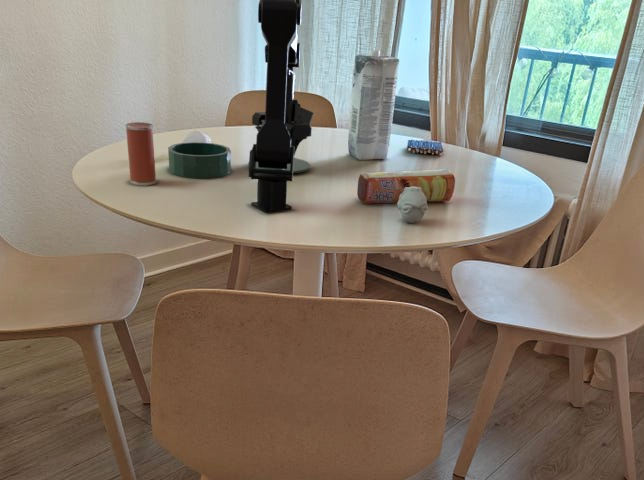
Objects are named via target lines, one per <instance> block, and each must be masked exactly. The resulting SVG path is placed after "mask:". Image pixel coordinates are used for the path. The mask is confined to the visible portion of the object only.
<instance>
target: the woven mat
mask: <svg viewBox="0 0 644 480" xmlns="http://www.w3.org/2000/svg"><path fill="white" fill-rule="evenodd" d="M406 150H407V151H408V152H411V151H412V153H413V154H415V153H417V154H418V153H419V152H420V154H424V155H426V154H427V153H428V154H431V155H432V156H433V155H434V154H435V155H439V156H442V155H443V153H444V148H443V144H442V142H441V141H440V142H439V141H431V140H419V139H416V140H415V139H408V140H407V145H406Z"/></svg>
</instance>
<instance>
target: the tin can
mask: <svg viewBox="0 0 644 480" xmlns="http://www.w3.org/2000/svg"><path fill="white" fill-rule="evenodd" d="M153 127H154V125H153V124H152V123H149V122H143V121H142V122H141V121H140V122H139V121H136V122H128V123H125V130H126V131H125V133H126V142H127V143H126V144H127V154H128V157H127V158H128V166H129V168H128V169H129V182H130V184H131V185H134V186H142V187H143V186H145V187H146V186H152V185H155V184H156V183H157V179H156V177H157V176H156V162H155V146H154V145H155V144H154V129H153Z"/></svg>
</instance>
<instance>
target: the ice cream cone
mask: <svg viewBox="0 0 644 480" xmlns="http://www.w3.org/2000/svg"><path fill="white" fill-rule="evenodd" d="M189 142H204V143H212V141H211V138H210V136H208V135H207V134H205V133H203V132H201V131H199V130H191V131H189V132H188V133H187V134H186V136H185V137H184V139H183V140H182V141H181V143H189Z"/></svg>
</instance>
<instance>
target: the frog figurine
mask: <svg viewBox="0 0 644 480" xmlns="http://www.w3.org/2000/svg"><path fill="white" fill-rule="evenodd" d="M396 206H397V209H398V211H399V215H400V217H401V218H402V220H403V221H405V222H407V223H410V224H413V223H417V222H419V221H421V220H422V218H423V217H424V215H425V214H426V211H427V210H428V203H427V202H426V197H425V196H424V193H423V192H422V189H421V188H420V187H415V186H414V187H413V186H411V187H409V188H408V187H405V189H404V192H403V193H402V194H401V195H400V196H399V201H398V202H397V203H396Z"/></svg>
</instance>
